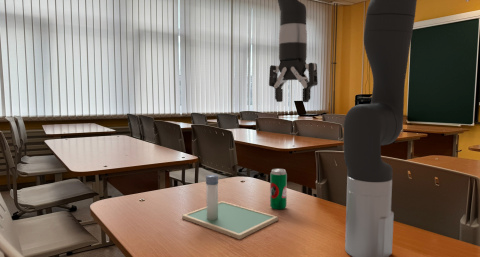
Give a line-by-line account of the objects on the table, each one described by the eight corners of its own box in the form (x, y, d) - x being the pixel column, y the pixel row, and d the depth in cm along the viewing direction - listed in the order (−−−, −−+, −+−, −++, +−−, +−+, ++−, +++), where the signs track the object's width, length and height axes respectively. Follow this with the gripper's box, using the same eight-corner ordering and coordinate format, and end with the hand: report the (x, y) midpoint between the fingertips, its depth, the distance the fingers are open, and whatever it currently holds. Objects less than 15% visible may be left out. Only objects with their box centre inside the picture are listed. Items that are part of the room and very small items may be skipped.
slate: (277, 220, 96) (277, 216, 96) (239, 239, 84) (239, 235, 84) (222, 204, 110) (222, 201, 110) (182, 218, 98) (182, 215, 98)
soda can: (285, 211, 104) (286, 172, 102) (269, 209, 105) (269, 171, 103) (286, 205, 109) (287, 168, 107) (271, 204, 110) (271, 167, 108)
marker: (221, 217, 96) (220, 175, 95) (212, 221, 93) (211, 178, 92) (212, 215, 98) (212, 174, 97) (203, 218, 96) (203, 176, 94)
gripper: (322, 41, 92) (321, 102, 94) (278, 46, 101) (278, 101, 103) (309, 38, 86) (307, 102, 88) (263, 43, 96) (263, 101, 97)
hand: (292, 102), depth 96 cm, fingers open, 8 cm apart
